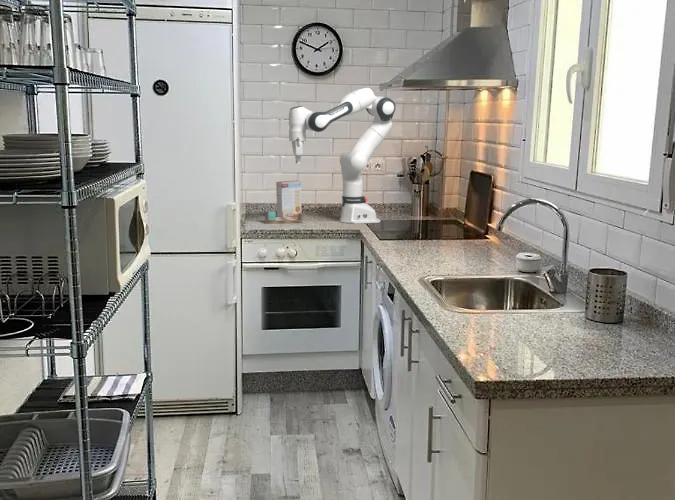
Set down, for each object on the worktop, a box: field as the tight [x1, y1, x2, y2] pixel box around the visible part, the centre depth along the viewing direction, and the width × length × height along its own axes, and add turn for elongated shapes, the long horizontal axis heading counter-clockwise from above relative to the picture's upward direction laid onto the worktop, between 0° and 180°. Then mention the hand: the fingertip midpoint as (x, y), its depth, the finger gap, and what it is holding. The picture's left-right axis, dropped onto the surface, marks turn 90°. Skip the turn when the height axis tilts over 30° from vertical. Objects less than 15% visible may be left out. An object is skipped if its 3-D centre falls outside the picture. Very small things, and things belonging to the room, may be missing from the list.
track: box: [264, 211, 303, 225], centre depth 386 cm, size 20×10×6 cm, turn 97°
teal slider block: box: [268, 211, 277, 221], centre depth 385 cm, size 4×5×4 cm
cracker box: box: [275, 179, 303, 217], centre depth 403 cm, size 14×6×21 cm, turn 130°
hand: (298, 164), depth 371 cm, fingers open, 8 cm apart
